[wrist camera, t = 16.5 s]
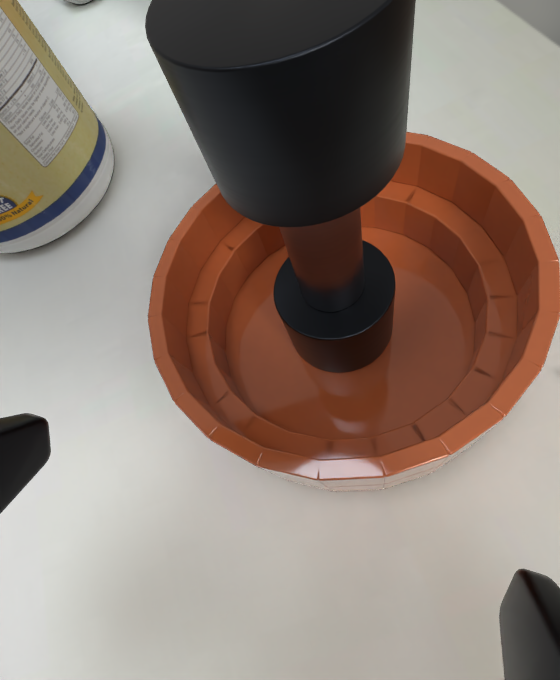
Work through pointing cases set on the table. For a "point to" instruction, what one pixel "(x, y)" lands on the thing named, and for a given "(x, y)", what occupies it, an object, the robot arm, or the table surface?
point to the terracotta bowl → (405, 343)
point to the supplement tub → (44, 141)
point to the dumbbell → (301, 144)
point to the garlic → (78, 1)
